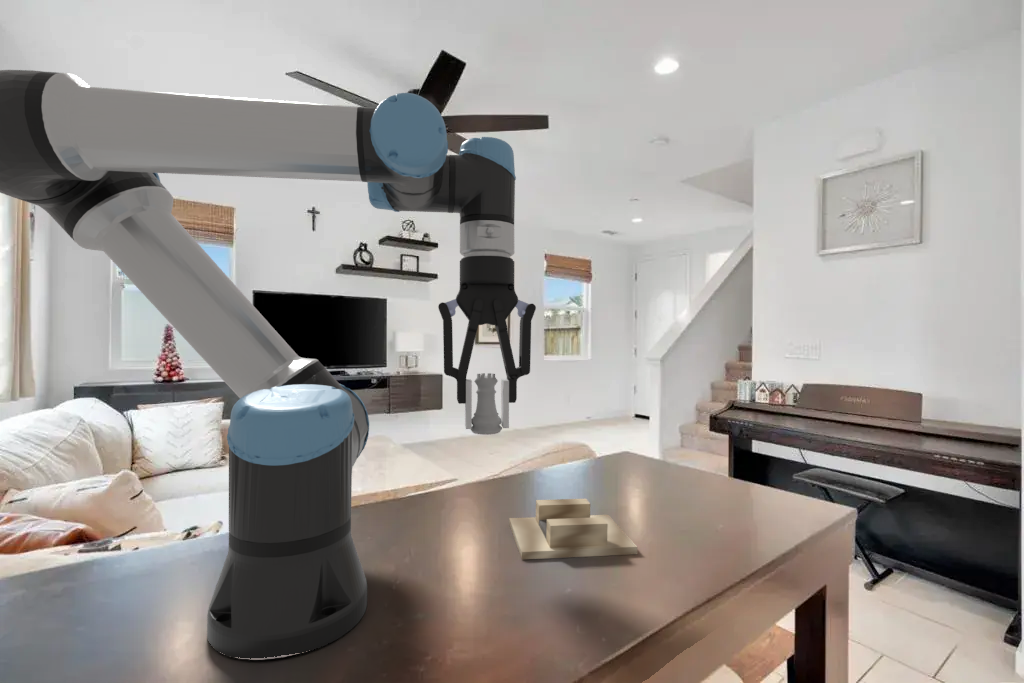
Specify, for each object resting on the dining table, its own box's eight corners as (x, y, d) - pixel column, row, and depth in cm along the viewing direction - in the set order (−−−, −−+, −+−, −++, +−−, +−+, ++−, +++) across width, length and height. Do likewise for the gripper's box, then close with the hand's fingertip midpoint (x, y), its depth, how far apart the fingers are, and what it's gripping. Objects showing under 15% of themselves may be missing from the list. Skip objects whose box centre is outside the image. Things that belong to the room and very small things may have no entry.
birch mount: (521, 559, 65) (522, 529, 65) (509, 524, 77) (509, 499, 77) (637, 554, 68) (637, 524, 68) (607, 520, 80) (608, 496, 80)
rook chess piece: (508, 430, 69) (508, 373, 69) (490, 436, 66) (490, 376, 65) (482, 427, 72) (482, 372, 72) (463, 432, 68) (463, 374, 68)
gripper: (421, 251, 63) (421, 433, 64) (555, 255, 66) (554, 430, 66) (423, 259, 71) (423, 423, 71) (543, 262, 73) (543, 420, 74)
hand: (486, 426), depth 69 cm, fingers closed on rook chess piece, 4 cm apart
